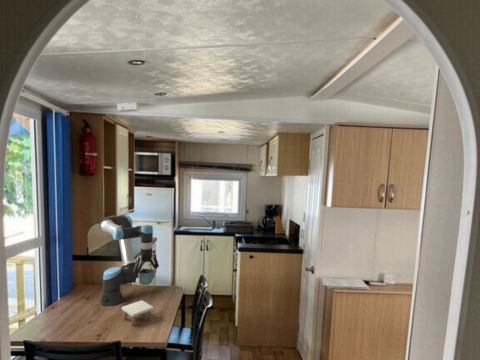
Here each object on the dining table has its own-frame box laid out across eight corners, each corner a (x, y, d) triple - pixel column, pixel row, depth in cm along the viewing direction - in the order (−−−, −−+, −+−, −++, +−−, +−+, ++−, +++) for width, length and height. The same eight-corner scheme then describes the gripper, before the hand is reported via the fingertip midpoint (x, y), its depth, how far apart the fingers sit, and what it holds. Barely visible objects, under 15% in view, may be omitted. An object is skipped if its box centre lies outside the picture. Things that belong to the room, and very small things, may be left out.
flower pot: (148, 286, 188) (149, 273, 188) (136, 285, 189) (136, 272, 189) (155, 282, 196) (155, 269, 196) (143, 281, 198) (143, 268, 198)
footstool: (121, 319, 179) (121, 307, 179) (141, 312, 189) (142, 300, 189) (132, 327, 169) (132, 314, 169) (153, 319, 180) (153, 307, 180)
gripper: (133, 252, 181) (132, 286, 181) (164, 246, 199) (163, 277, 199) (127, 250, 186) (126, 283, 186) (158, 244, 204) (157, 274, 204)
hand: (145, 280), depth 193 cm, fingers closed on flower pot, 11 cm apart
